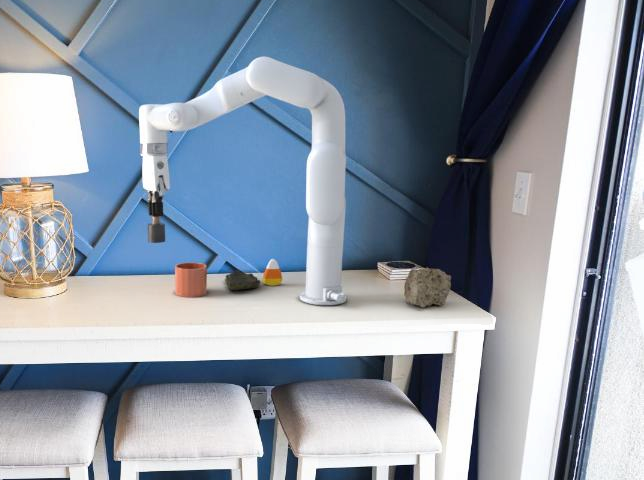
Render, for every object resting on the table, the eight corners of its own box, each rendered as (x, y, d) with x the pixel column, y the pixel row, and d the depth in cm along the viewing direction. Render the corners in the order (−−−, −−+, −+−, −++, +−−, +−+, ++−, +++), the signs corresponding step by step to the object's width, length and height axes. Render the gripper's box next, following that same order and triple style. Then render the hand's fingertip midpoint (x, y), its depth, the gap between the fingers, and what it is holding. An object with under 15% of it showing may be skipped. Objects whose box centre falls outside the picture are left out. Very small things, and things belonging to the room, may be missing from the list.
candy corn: (281, 283, 193) (282, 257, 191) (283, 285, 191) (283, 259, 189) (261, 283, 193) (262, 258, 191) (263, 286, 190) (263, 260, 188)
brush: (168, 241, 183) (166, 196, 180) (151, 243, 181) (150, 197, 178) (161, 239, 187) (160, 194, 184) (145, 240, 185) (144, 195, 182)
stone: (219, 272, 199) (249, 266, 200) (221, 285, 200) (252, 280, 201) (230, 282, 181) (264, 275, 182) (232, 296, 181) (266, 290, 182)
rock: (397, 275, 177) (412, 263, 167) (441, 278, 177) (458, 266, 168) (399, 313, 173) (415, 303, 164) (444, 316, 174) (462, 306, 165)
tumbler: (211, 294, 181) (211, 267, 179) (182, 298, 178) (182, 270, 176) (198, 287, 189) (198, 261, 187) (170, 291, 186) (170, 264, 184)
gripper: (177, 150, 172) (178, 218, 177) (156, 148, 186) (158, 211, 191) (151, 151, 169) (153, 220, 174) (131, 149, 183) (134, 213, 188)
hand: (156, 215), depth 182 cm, fingers closed on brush
